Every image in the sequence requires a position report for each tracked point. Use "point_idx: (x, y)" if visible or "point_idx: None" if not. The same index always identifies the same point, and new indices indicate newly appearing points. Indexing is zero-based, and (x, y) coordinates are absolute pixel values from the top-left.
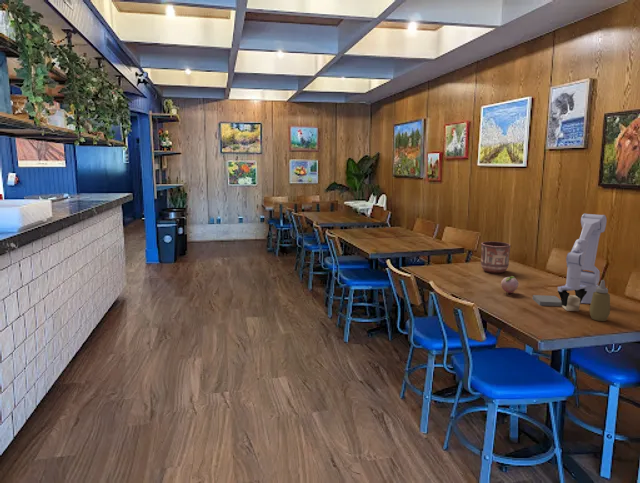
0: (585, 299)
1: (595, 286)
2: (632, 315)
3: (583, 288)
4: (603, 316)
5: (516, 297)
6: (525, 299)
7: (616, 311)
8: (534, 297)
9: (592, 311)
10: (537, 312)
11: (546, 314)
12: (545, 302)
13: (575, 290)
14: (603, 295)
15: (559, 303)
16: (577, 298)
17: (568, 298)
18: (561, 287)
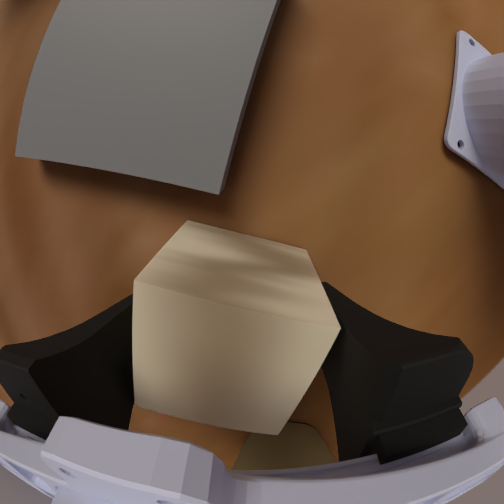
0: (499, 162)
1: None
2: (475, 383)
3: (446, 455)
4: None
5: None
6: (42, 12)
7: (483, 338)
8: (61, 10)
9: None
10: (5, 295)
11: (36, 334)
12: (50, 159)
13: (373, 381)
14: None
15: (173, 181)
16: (252, 427)
17: (141, 406)
18: (5, 462)
